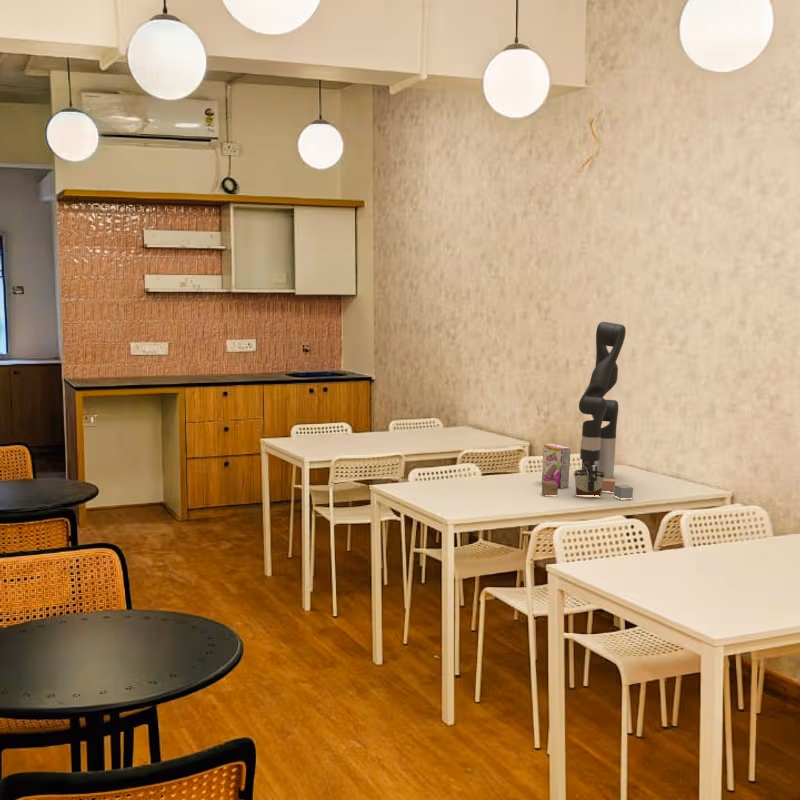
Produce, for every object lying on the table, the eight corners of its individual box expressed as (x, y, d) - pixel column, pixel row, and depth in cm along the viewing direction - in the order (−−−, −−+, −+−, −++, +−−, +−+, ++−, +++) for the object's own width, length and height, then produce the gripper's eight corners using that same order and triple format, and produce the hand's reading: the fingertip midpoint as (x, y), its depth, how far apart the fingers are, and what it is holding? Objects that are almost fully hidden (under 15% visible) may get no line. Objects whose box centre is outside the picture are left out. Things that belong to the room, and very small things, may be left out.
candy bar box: (540, 483, 413) (543, 444, 411) (550, 482, 416) (552, 443, 414) (559, 488, 404) (562, 448, 402) (569, 487, 407) (571, 447, 405)
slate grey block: (614, 497, 391) (614, 485, 391) (625, 497, 393) (626, 484, 392) (620, 500, 387) (621, 488, 386) (632, 500, 388) (633, 487, 388)
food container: (602, 495, 395) (604, 470, 394) (604, 498, 389) (605, 473, 388) (571, 493, 396) (572, 468, 395) (572, 496, 390) (573, 471, 389)
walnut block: (541, 493, 394) (542, 481, 394) (554, 494, 395) (555, 481, 394) (544, 496, 389) (545, 484, 389) (557, 496, 390) (557, 484, 389)
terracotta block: (600, 490, 404) (601, 478, 404) (613, 491, 404) (613, 478, 403) (601, 493, 399) (602, 480, 399) (614, 493, 399) (615, 481, 398)
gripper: (576, 444, 397) (574, 484, 399) (585, 450, 383) (583, 492, 385) (595, 444, 398) (592, 485, 400) (604, 451, 384) (602, 493, 386)
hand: (588, 488), depth 392 cm, fingers open, 8 cm apart
